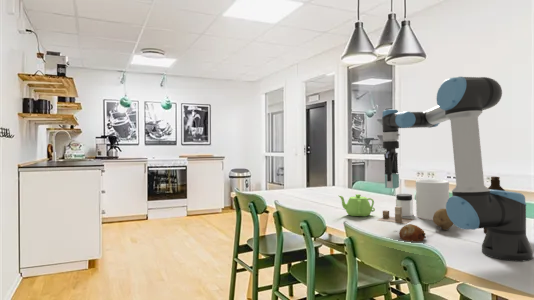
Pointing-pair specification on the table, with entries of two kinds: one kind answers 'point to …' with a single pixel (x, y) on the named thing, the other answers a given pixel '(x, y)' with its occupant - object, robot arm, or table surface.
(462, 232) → the table surface
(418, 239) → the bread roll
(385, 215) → the stub post
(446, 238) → the table surface
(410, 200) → the jar
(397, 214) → the post
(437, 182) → the canister
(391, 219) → the board
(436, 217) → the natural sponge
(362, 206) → the teapot
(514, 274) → the table surface
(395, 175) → the teal block
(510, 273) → the table surface
